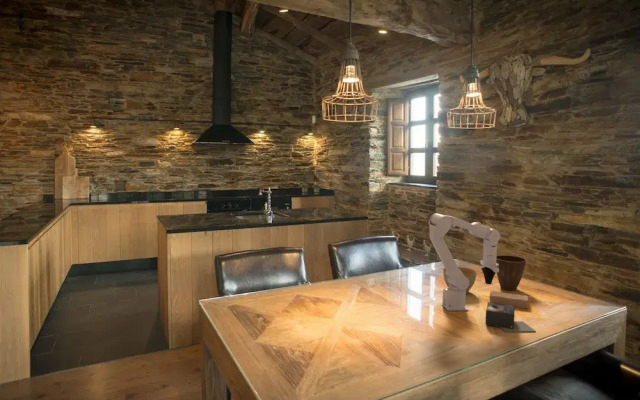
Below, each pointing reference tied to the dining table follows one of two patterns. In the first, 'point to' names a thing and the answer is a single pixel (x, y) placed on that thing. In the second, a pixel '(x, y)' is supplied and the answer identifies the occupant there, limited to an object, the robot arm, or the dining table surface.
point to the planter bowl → (467, 273)
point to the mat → (519, 327)
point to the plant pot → (510, 271)
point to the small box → (500, 315)
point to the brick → (509, 299)
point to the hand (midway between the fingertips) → (488, 283)
